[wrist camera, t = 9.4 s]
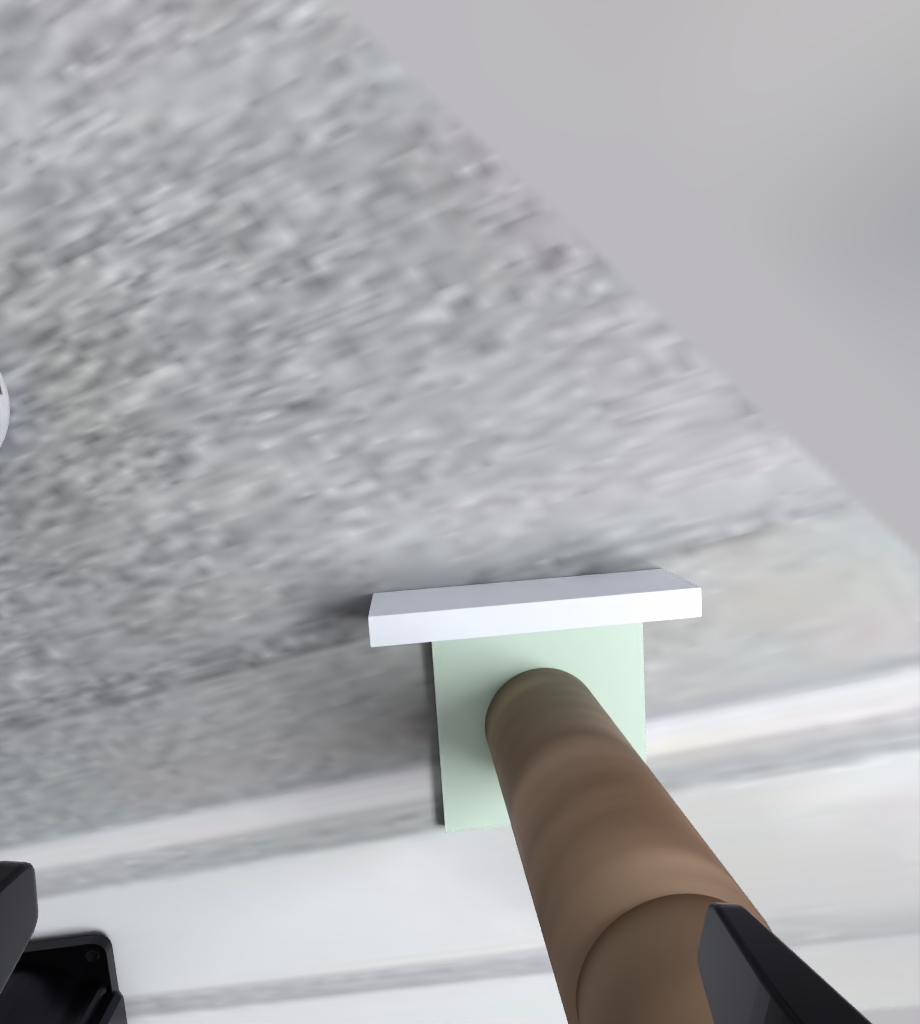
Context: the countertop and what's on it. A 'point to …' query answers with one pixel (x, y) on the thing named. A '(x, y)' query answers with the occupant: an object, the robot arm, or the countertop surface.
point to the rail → (530, 606)
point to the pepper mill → (604, 856)
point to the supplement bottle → (4, 409)
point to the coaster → (488, 666)
